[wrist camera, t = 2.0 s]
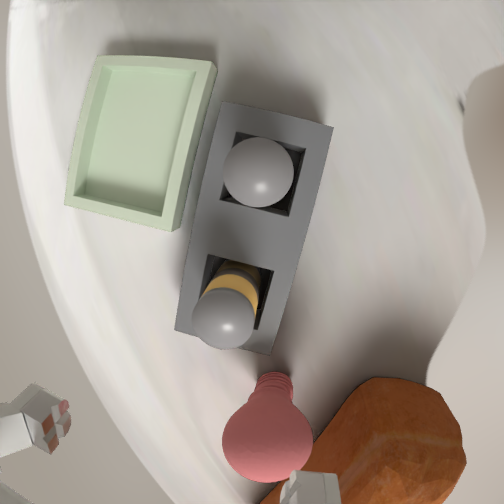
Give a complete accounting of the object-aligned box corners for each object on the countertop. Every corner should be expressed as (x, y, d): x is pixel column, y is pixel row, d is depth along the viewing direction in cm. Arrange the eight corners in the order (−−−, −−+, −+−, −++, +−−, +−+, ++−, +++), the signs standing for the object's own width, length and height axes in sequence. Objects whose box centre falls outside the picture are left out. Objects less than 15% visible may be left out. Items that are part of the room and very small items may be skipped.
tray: (110, 63, 24) (97, 55, 21) (217, 71, 23) (212, 61, 21) (78, 202, 27) (63, 204, 25) (180, 227, 27) (170, 232, 24)
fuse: (247, 146, 25) (232, 130, 16) (293, 157, 25) (301, 146, 16) (236, 191, 26) (215, 198, 17) (281, 202, 26) (283, 214, 17)
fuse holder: (230, 112, 24) (222, 101, 20) (325, 134, 24) (333, 127, 20) (187, 310, 29) (174, 330, 25) (271, 332, 28) (269, 355, 24)
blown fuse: (222, 250, 27) (197, 285, 18) (266, 262, 27) (261, 302, 18) (213, 291, 28) (187, 340, 19) (255, 302, 28) (245, 356, 19)
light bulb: (221, 383, 30) (196, 472, 19) (266, 339, 29) (257, 430, 17) (275, 417, 31) (270, 505, 19) (321, 377, 29) (336, 469, 17)
